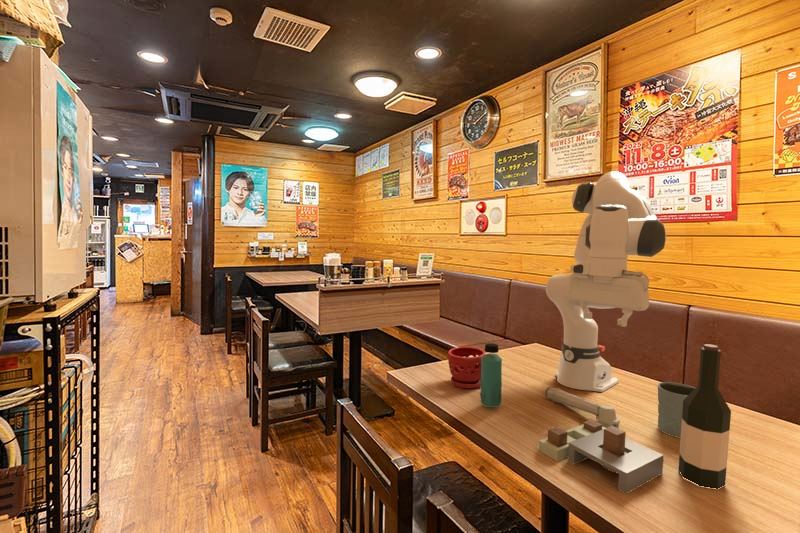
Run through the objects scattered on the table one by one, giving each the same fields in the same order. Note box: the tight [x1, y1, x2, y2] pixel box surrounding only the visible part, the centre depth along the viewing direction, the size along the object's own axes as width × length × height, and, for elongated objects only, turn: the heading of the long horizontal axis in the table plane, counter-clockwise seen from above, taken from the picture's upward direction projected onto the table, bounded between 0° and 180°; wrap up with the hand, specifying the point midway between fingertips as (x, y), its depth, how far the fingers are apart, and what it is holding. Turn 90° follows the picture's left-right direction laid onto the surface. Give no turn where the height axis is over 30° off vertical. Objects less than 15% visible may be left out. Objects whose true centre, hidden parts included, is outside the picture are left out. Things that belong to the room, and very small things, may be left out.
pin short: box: [583, 419, 602, 433], centre depth 107 cm, size 3×3×4 cm
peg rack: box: [538, 423, 605, 462], centre depth 103 cm, size 21×5×2 cm, turn 120°
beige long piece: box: [544, 386, 621, 429], centre depth 121 cm, size 5×7×25 cm
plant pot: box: [447, 346, 486, 390], centre depth 144 cm, size 13×13×12 cm
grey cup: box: [657, 381, 696, 438], centre depth 111 cm, size 10×10×12 cm
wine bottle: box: [678, 343, 732, 490], centre depth 88 cm, size 8×8×30 cm
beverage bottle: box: [479, 342, 503, 408], centre depth 124 cm, size 6×7×20 cm
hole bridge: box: [567, 429, 664, 494], centre depth 93 cm, size 14×14×4 cm
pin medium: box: [547, 426, 568, 448], centre depth 100 cm, size 3×3×6 cm
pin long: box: [601, 426, 626, 474], centre depth 93 cm, size 3×3×9 cm
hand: (604, 322), depth 104 cm, fingers open, 8 cm apart
